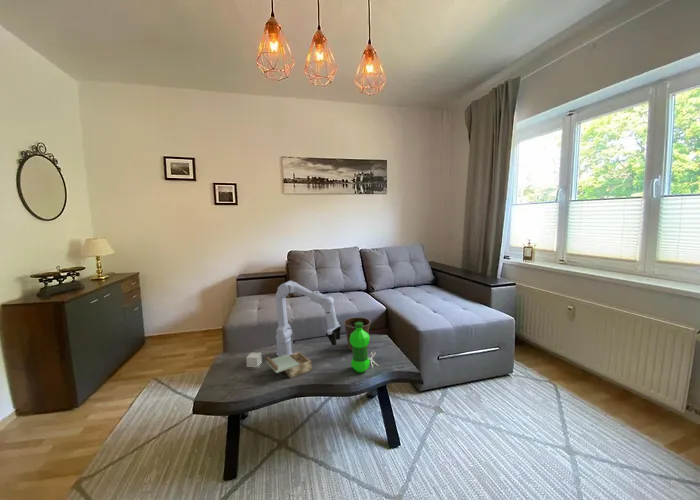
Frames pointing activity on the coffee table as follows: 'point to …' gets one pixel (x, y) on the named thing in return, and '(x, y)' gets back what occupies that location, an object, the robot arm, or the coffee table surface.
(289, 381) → the coffee table surface
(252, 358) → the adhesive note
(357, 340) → the plastic bottle
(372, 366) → the scissors
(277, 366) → the lid
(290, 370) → the storage box
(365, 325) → the plant pot
